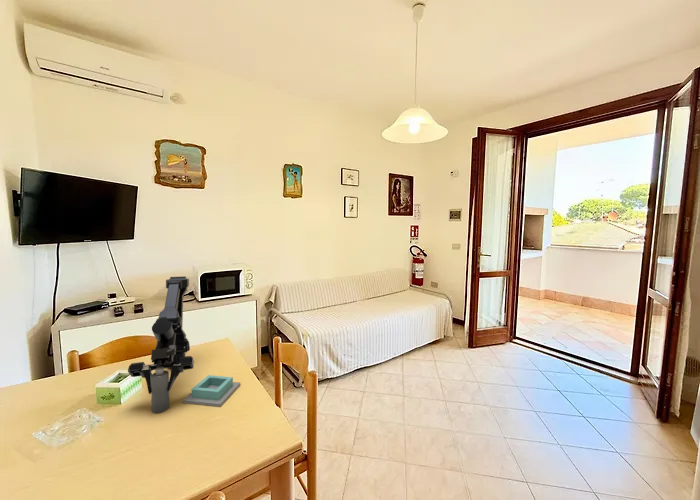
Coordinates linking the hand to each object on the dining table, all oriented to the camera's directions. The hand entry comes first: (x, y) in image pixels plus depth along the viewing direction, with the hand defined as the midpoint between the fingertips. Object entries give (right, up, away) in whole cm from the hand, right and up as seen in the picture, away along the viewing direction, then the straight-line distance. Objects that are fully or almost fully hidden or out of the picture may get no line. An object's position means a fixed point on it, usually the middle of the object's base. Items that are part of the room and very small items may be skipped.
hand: (159, 392), depth 96 cm
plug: (-1, -6, +2) cm, 7 cm away
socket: (+13, -6, +11) cm, 18 cm away
